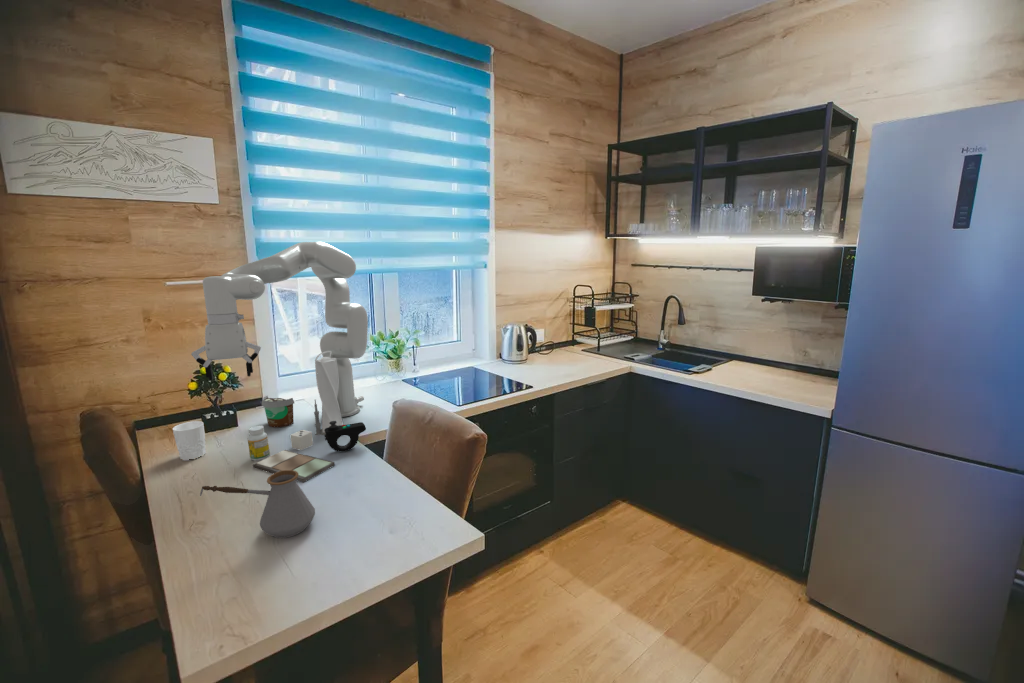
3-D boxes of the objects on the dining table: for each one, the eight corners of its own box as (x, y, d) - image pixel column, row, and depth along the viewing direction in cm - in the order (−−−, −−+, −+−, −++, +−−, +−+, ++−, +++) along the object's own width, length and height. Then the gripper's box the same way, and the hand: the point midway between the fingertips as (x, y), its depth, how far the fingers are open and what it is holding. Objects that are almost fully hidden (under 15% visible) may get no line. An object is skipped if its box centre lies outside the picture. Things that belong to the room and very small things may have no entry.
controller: (325, 451, 148) (322, 421, 146) (366, 443, 153) (363, 414, 151) (327, 456, 144) (324, 426, 142) (368, 448, 150) (366, 418, 148)
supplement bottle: (270, 458, 144) (266, 428, 142) (250, 462, 141) (246, 432, 139) (269, 452, 148) (265, 423, 146) (249, 456, 146) (245, 427, 144)
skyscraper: (325, 426, 170) (317, 350, 164) (347, 426, 169) (340, 350, 163) (315, 435, 161) (306, 356, 156) (338, 435, 161) (330, 356, 155)
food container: (256, 427, 169) (252, 400, 167) (269, 420, 175) (266, 395, 173) (284, 430, 166) (281, 403, 164) (297, 423, 171) (293, 397, 169)
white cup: (214, 450, 150) (209, 421, 148) (195, 462, 143) (190, 431, 140) (191, 450, 151) (186, 420, 149) (171, 461, 143) (166, 430, 141)
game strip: (285, 452, 148) (285, 449, 147) (334, 465, 138) (334, 461, 138) (253, 467, 138) (252, 463, 138) (303, 482, 129) (303, 478, 129)
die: (303, 442, 155) (301, 429, 154) (313, 444, 153) (311, 431, 152) (291, 447, 151) (290, 434, 150) (301, 450, 149) (300, 436, 148)
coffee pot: (312, 508, 116) (305, 452, 113) (320, 532, 106) (313, 471, 103) (209, 537, 105) (199, 475, 102) (208, 567, 95) (197, 499, 92)
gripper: (257, 316, 142) (264, 371, 145) (189, 320, 135) (197, 378, 138) (256, 319, 135) (263, 376, 138) (184, 323, 128) (193, 384, 131)
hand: (230, 377), depth 138 cm, fingers open, 9 cm apart
